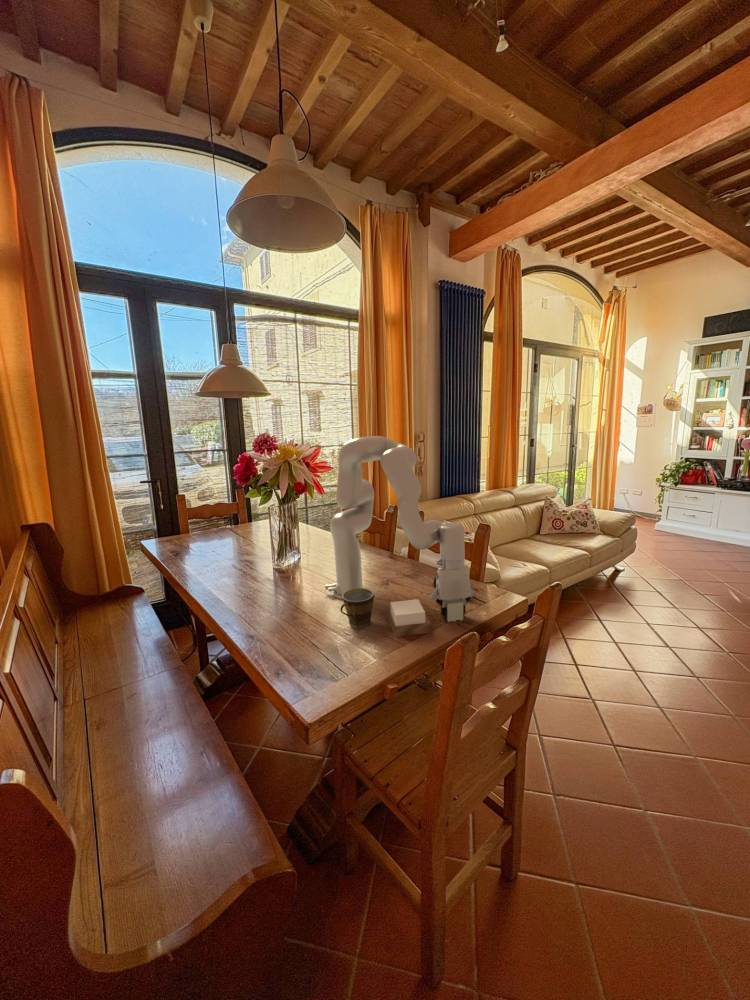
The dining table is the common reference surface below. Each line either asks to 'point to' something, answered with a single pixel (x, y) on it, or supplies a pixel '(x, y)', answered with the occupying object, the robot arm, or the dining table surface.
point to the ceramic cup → (358, 607)
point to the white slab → (407, 612)
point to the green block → (454, 610)
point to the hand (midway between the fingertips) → (453, 615)
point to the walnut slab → (410, 627)
